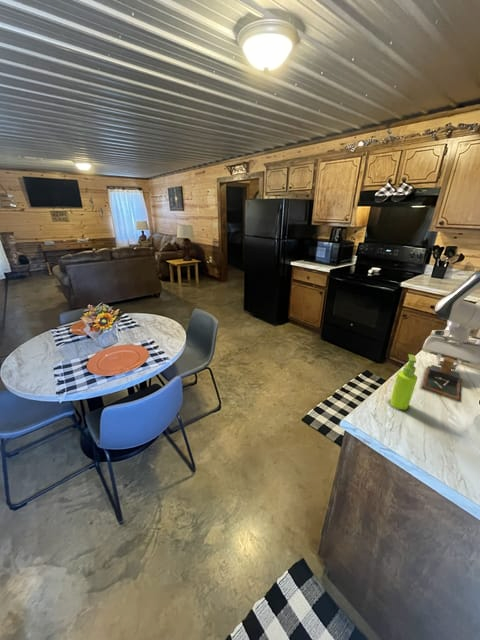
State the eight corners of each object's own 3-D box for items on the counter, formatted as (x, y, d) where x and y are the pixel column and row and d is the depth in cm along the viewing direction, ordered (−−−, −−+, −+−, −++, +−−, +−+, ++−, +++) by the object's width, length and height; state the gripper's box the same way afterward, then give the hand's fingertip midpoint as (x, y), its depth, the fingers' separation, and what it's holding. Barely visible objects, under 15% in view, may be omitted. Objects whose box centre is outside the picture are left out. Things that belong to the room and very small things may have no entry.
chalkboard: (427, 367, 122) (427, 365, 122) (459, 377, 115) (460, 375, 115) (421, 388, 108) (422, 386, 107) (458, 400, 101) (459, 398, 100)
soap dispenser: (406, 400, 101) (420, 355, 93) (408, 411, 95) (424, 364, 87) (389, 395, 103) (401, 351, 95) (390, 406, 97) (403, 360, 89)
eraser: (457, 377, 113) (464, 360, 109) (457, 383, 109) (464, 365, 106) (430, 369, 119) (435, 353, 115) (428, 374, 115) (434, 357, 112)
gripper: (484, 348, 111) (475, 378, 108) (426, 334, 123) (418, 361, 120) (488, 343, 106) (480, 374, 103) (428, 329, 118) (419, 356, 115)
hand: (446, 367), depth 112 cm, fingers closed on eraser, 3 cm apart
